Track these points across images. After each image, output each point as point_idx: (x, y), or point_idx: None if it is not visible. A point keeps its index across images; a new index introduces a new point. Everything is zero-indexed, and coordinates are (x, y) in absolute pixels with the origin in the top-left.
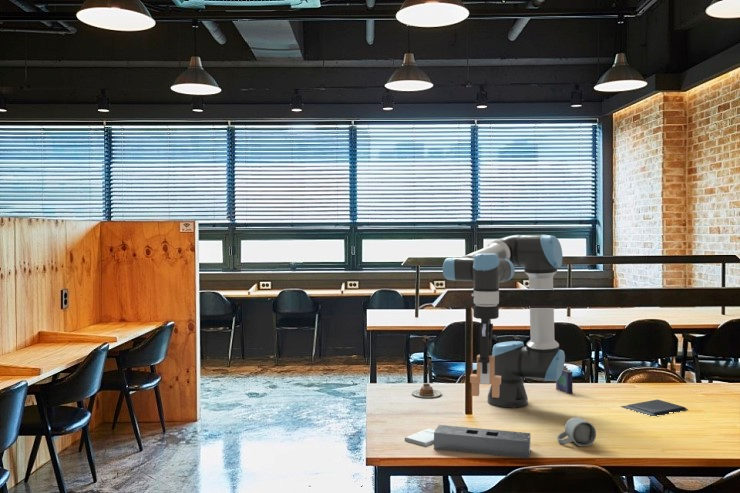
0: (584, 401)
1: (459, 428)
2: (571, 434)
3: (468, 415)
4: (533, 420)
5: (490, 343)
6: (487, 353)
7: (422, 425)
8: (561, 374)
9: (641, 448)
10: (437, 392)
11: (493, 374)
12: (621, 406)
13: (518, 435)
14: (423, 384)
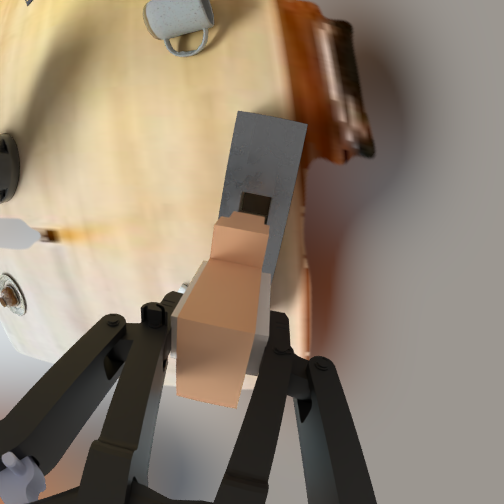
0: (2, 54)
1: None
2: (206, 25)
3: (62, 237)
4: (66, 111)
5: (130, 401)
6: (346, 405)
7: (135, 321)
8: None
9: None
10: (2, 279)
11: (260, 276)
12: (27, 4)
13: (260, 143)
14: (4, 306)
